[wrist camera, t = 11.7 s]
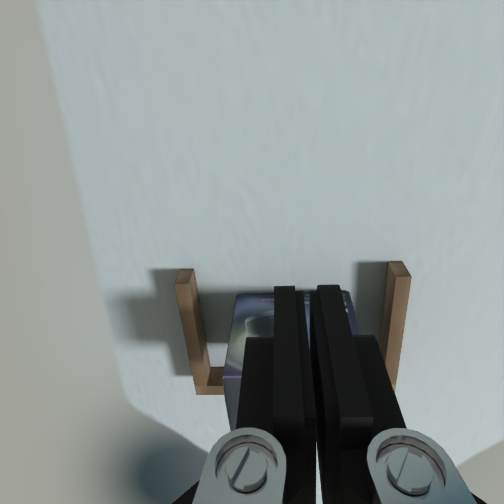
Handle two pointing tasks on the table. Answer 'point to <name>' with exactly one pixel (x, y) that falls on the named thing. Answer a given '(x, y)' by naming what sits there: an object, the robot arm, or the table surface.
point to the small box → (258, 325)
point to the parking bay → (211, 377)
